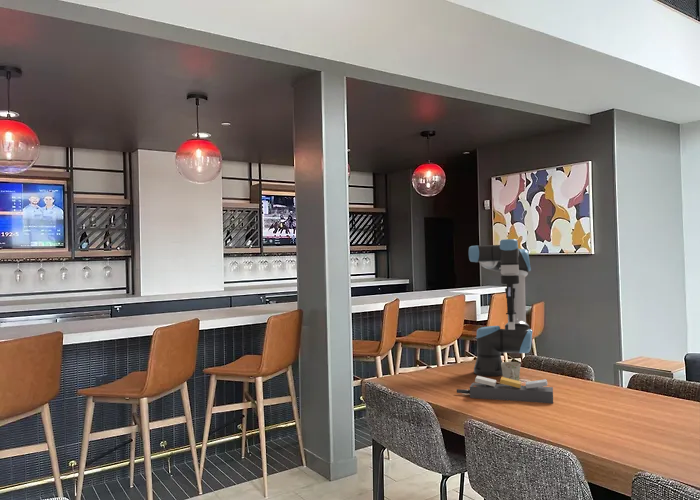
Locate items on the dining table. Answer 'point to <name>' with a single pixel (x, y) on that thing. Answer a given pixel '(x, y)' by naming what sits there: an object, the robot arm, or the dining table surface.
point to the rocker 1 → (485, 381)
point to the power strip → (510, 393)
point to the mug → (511, 370)
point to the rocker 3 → (536, 383)
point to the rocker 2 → (510, 382)
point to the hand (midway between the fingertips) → (511, 329)
